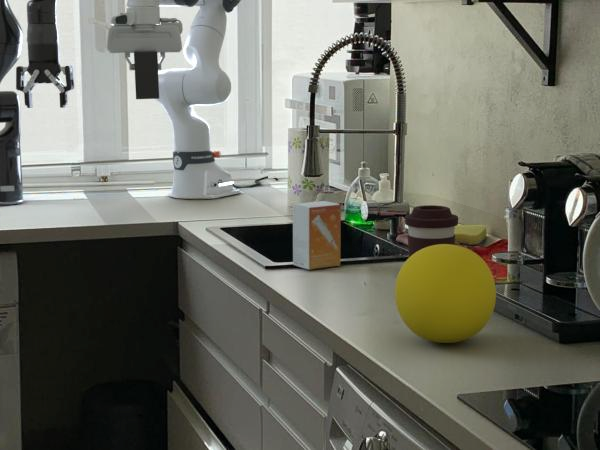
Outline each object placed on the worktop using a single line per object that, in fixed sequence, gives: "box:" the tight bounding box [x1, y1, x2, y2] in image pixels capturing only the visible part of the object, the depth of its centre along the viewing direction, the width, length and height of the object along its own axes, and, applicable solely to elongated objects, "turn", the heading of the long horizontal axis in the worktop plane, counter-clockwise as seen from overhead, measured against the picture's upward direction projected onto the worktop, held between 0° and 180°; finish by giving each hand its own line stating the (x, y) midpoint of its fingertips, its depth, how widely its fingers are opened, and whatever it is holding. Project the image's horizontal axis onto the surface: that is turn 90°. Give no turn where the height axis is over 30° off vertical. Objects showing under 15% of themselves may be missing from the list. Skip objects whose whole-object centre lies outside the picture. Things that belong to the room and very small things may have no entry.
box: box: [133, 51, 159, 100], centre depth 273 cm, size 28×6×12 cm, turn 9°
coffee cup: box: [404, 204, 459, 258], centre depth 197 cm, size 10×10×15 cm
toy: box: [394, 244, 497, 344], centre depth 160 cm, size 15×15×15 cm
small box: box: [292, 200, 342, 271], centre depth 216 cm, size 8×6×13 cm
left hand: (46, 107), depth 263 cm, fingers open, 8 cm apart
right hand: (145, 70), depth 284 cm, fingers closed on box, 6 cm apart
